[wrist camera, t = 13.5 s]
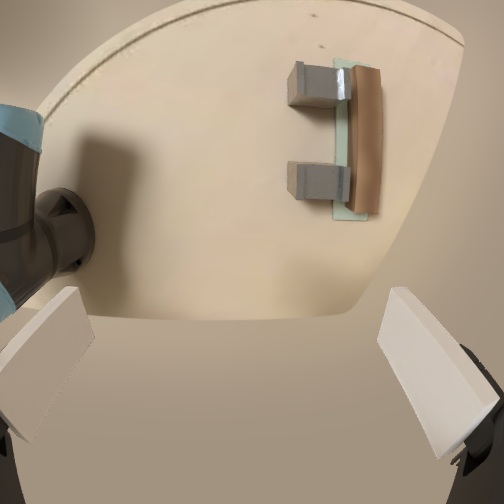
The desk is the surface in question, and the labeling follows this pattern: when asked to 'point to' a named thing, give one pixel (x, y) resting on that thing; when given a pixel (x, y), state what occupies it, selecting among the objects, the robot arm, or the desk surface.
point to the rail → (364, 139)
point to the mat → (343, 148)
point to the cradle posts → (323, 96)
